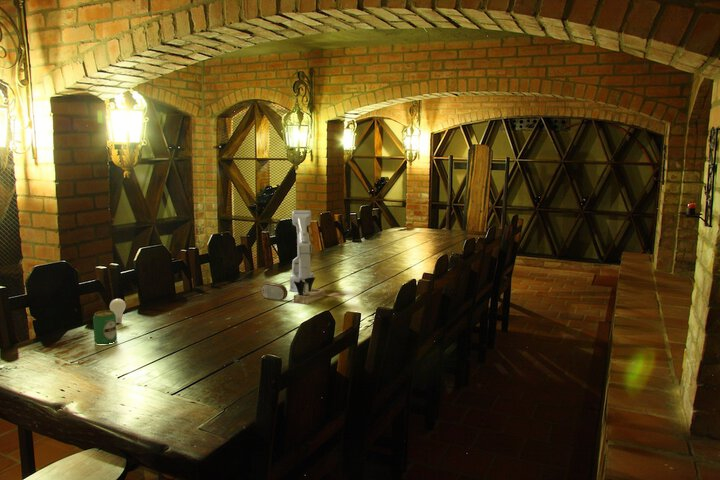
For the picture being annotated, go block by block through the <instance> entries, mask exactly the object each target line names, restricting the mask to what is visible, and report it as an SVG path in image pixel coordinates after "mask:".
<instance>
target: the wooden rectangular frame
mask: <svg viewBox="0 0 720 480" xmlns="http://www.w3.org/2000/svg"><path fill="white" fill-rule="evenodd" d="M325 296H326V289H323V288H316V287H315V288H314V287H312V288H311V292H308V296H302V295H299V294H298V293H296V294H294V295H293V303H294V304H295V303H297V304H301V305H309V304H311V303H312V302H315V301H317V300H319V299H321V298H323V297H325Z"/></svg>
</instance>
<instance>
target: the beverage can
mask: <svg viewBox="0 0 720 480" xmlns="http://www.w3.org/2000/svg"><path fill="white" fill-rule="evenodd" d="M92 321H93V322H92V323H93V340H94V343H95V344H96V343H97V344H109V343H113V342H115V341H116V342H117V340H118V334H117V333H118V331H117V323H116V315H115V314H114V312H113V311H111V310H109V309H108V310H107V309H106V310H99V311H96V312H95V313H94V315H93V317H92ZM116 342H115V343H116Z"/></svg>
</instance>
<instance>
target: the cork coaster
mask: <svg viewBox="0 0 720 480" xmlns="http://www.w3.org/2000/svg"><path fill="white" fill-rule="evenodd" d="M347 295H348V293H343V292H342V293H341V292H331V293H329V294H328V295H326V296H327V297H332V298H338V299H341V298H343V297H344V296H347Z"/></svg>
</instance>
